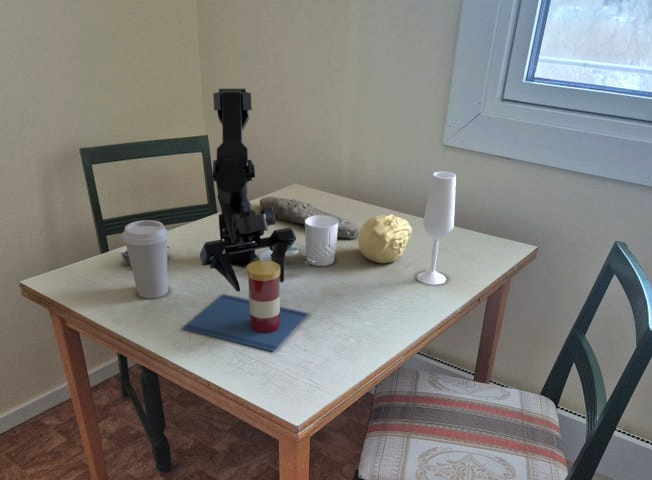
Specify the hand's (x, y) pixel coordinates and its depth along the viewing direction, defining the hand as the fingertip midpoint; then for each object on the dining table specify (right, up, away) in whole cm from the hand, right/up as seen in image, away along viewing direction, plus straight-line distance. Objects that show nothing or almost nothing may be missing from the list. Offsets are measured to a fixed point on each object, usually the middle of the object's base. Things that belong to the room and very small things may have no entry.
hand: (260, 286), depth 126 cm
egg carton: (-30, +9, +29) cm, 43 cm away
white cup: (+12, +10, +30) cm, 34 cm away
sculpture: (+28, +11, +32) cm, 44 cm away
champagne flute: (+38, +4, +23) cm, 45 cm away
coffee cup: (-25, 0, +16) cm, 29 cm away
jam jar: (+1, -8, +3) cm, 8 cm away
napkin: (-3, -7, +5) cm, 9 cm away
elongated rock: (+9, +23, +52) cm, 58 cm away
